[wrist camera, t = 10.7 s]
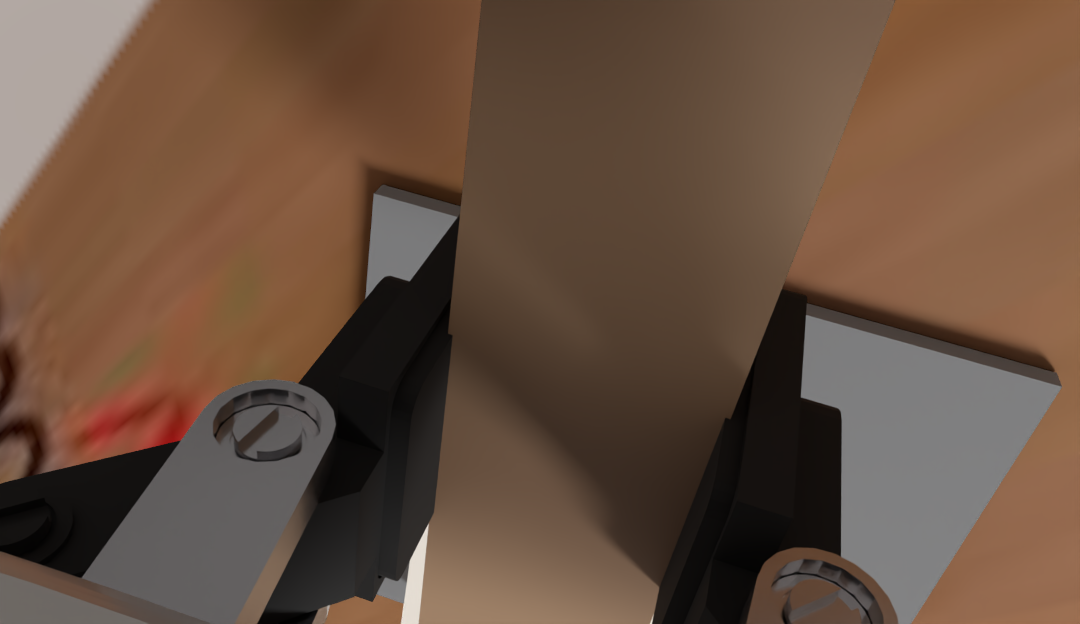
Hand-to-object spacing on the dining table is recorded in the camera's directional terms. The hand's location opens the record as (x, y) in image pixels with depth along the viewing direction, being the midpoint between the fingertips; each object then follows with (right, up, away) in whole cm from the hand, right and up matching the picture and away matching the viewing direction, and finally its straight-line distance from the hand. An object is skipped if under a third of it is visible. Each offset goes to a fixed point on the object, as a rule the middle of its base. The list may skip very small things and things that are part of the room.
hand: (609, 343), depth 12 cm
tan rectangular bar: (0, 0, +1) cm, 1 cm away
